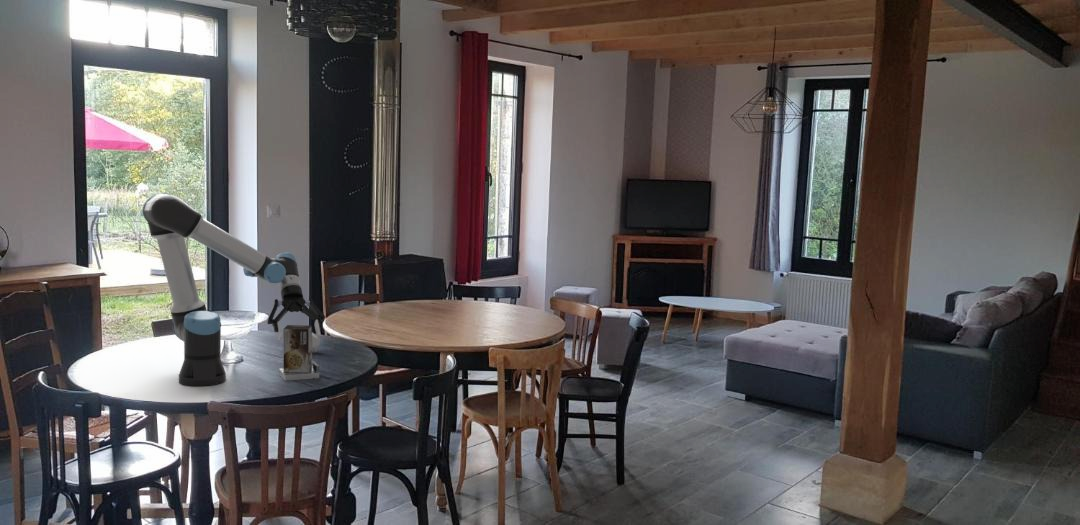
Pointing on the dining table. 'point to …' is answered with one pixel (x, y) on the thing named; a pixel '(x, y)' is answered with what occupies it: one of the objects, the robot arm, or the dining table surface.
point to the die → (315, 343)
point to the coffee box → (297, 348)
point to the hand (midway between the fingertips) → (300, 337)
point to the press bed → (298, 376)
